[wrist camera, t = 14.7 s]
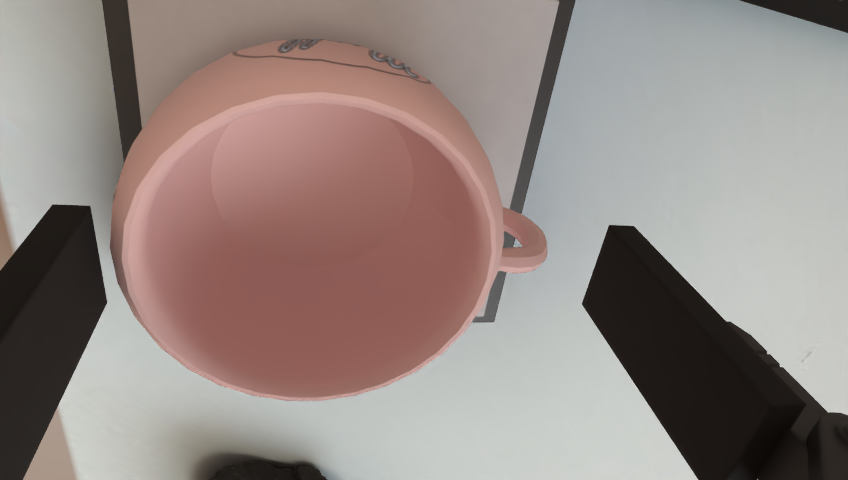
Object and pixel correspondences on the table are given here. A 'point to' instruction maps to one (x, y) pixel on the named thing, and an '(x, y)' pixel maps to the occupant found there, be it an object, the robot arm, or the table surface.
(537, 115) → the scale
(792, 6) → the remote control
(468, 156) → the mug
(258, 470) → the rock
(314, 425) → the table surface
